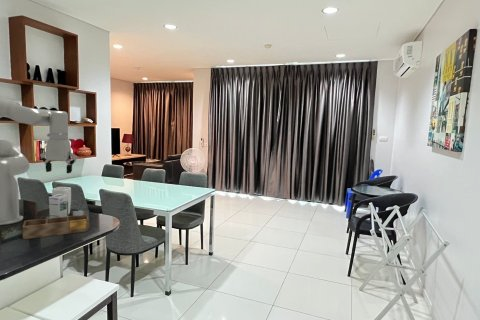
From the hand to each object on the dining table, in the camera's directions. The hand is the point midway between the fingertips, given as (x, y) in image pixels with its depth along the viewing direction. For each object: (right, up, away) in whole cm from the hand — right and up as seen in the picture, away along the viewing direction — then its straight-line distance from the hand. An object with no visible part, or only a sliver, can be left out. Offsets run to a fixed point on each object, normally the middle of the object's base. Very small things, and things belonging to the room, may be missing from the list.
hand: (58, 172), depth 144 cm
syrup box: (-2, -26, +3) cm, 26 cm away
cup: (-8, -24, +16) cm, 30 cm away
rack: (+4, -27, -7) cm, 28 cm away
